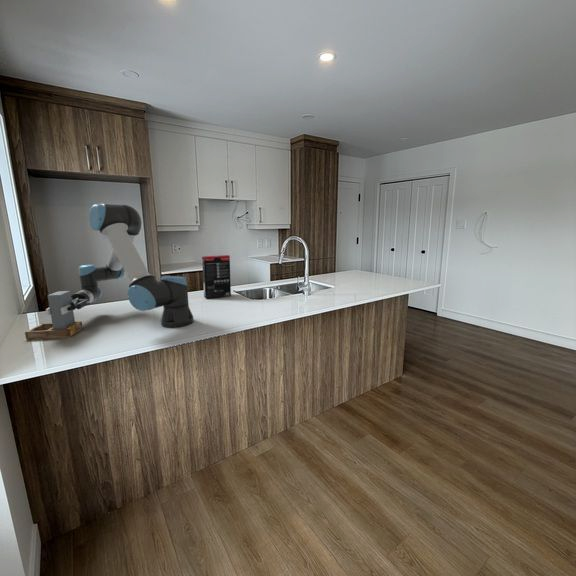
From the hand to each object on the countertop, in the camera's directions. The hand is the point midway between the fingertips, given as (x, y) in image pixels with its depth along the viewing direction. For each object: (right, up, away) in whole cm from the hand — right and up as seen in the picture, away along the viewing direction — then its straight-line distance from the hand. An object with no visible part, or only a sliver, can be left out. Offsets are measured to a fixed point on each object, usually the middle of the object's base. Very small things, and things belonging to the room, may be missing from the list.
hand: (54, 311), depth 135 cm
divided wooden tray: (-5, -10, +7) cm, 13 cm away
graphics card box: (+54, +4, +74) cm, 91 cm away
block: (-1, -9, +7) cm, 11 cm away
